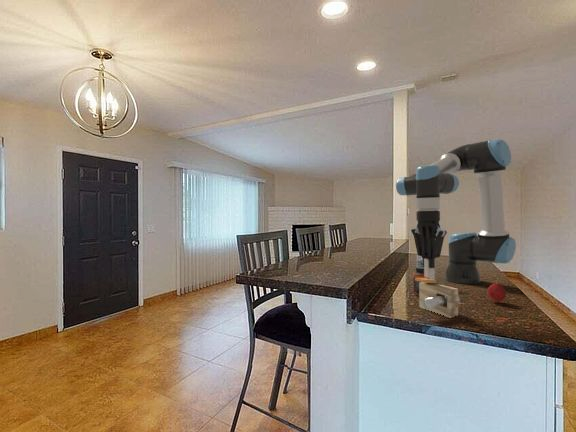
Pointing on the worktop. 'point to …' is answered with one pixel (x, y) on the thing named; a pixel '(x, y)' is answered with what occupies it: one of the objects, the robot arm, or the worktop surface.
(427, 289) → the block
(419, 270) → the supplement bottle
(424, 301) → the pin
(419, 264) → the syrup box
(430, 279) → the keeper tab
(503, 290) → the onion
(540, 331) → the worktop surface
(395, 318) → the worktop surface
